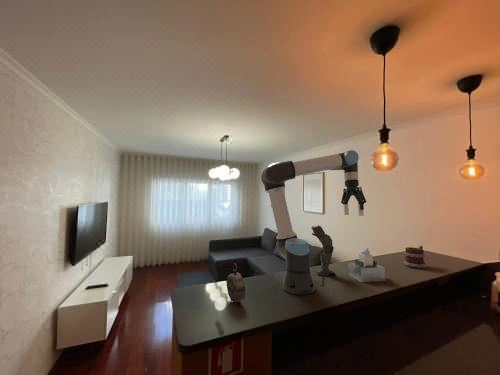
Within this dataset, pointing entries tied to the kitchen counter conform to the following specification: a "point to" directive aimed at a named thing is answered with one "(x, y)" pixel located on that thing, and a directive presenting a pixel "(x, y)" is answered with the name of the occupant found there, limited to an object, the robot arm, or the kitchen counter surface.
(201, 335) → the kitchen counter surface
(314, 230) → the mechanical leg
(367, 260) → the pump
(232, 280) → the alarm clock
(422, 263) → the chocolate layer cake
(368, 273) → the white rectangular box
